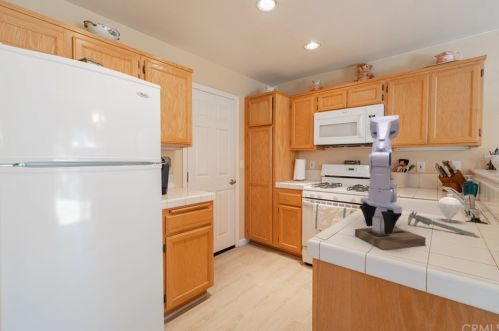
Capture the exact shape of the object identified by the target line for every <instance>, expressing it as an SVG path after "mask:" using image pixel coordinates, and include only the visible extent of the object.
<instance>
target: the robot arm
mask: <svg viewBox="0 0 499 331" xmlns="http://www.w3.org/2000/svg"><path fill="white" fill-rule="evenodd" d="M399 130H400V115H398V114H396V115H395V114H393V115H382V116H371V118H370V119H369V132H370V136H371V138H372V139H374V140H373V142H372V145H371V146H372V148H371V152H370V153H369V154H368V169H369V170H368V172H369V184H368V191H367V192H368V194H367V197H360V204H359V209H360V210H361V212H362V215H363V218H364V219H363V221H364V222H365V225H366V227H367V228H370V227H372V222H373V216H382V217H383V220H384V232H385V234H392V232H393V229H394V227H398V224H397V222H398V220H399V219H401V218H400V217H402V215H403V214H402V209H403V207H402V206H401V205H398V204H395V203H397V198H398V196H397V195H398V189H397V184H396V183H395V182H394V181H392V180H391V173H392V172H391V170H393V163H394V162H393V160H394V158H393V156H394V155H393V150H392V149H393V147H392V146H393V139H395V138H398V136H399Z"/></svg>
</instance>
